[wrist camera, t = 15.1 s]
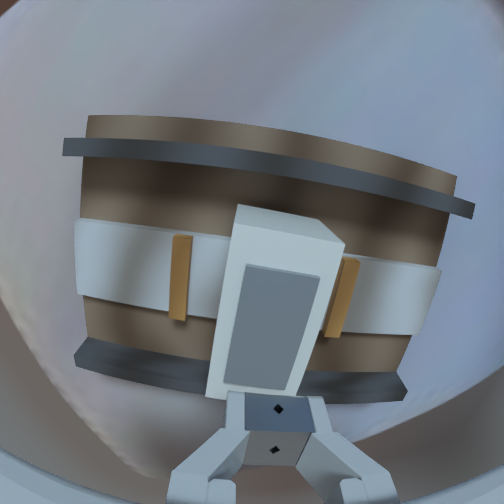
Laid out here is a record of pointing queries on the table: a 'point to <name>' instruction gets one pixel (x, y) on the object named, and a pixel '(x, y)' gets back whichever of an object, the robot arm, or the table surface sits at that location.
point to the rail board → (218, 242)
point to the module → (271, 301)
